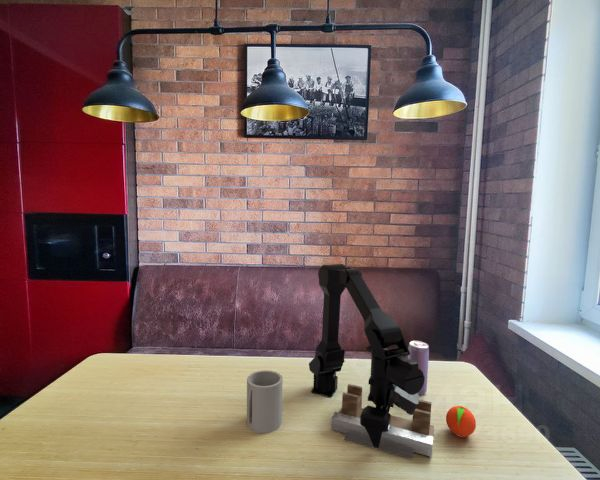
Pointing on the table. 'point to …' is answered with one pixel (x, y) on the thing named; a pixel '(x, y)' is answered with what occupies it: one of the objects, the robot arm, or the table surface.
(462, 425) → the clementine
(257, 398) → the cup
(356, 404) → the rack
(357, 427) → the rail
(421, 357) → the beverage can
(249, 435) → the table surface
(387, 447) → the mat
